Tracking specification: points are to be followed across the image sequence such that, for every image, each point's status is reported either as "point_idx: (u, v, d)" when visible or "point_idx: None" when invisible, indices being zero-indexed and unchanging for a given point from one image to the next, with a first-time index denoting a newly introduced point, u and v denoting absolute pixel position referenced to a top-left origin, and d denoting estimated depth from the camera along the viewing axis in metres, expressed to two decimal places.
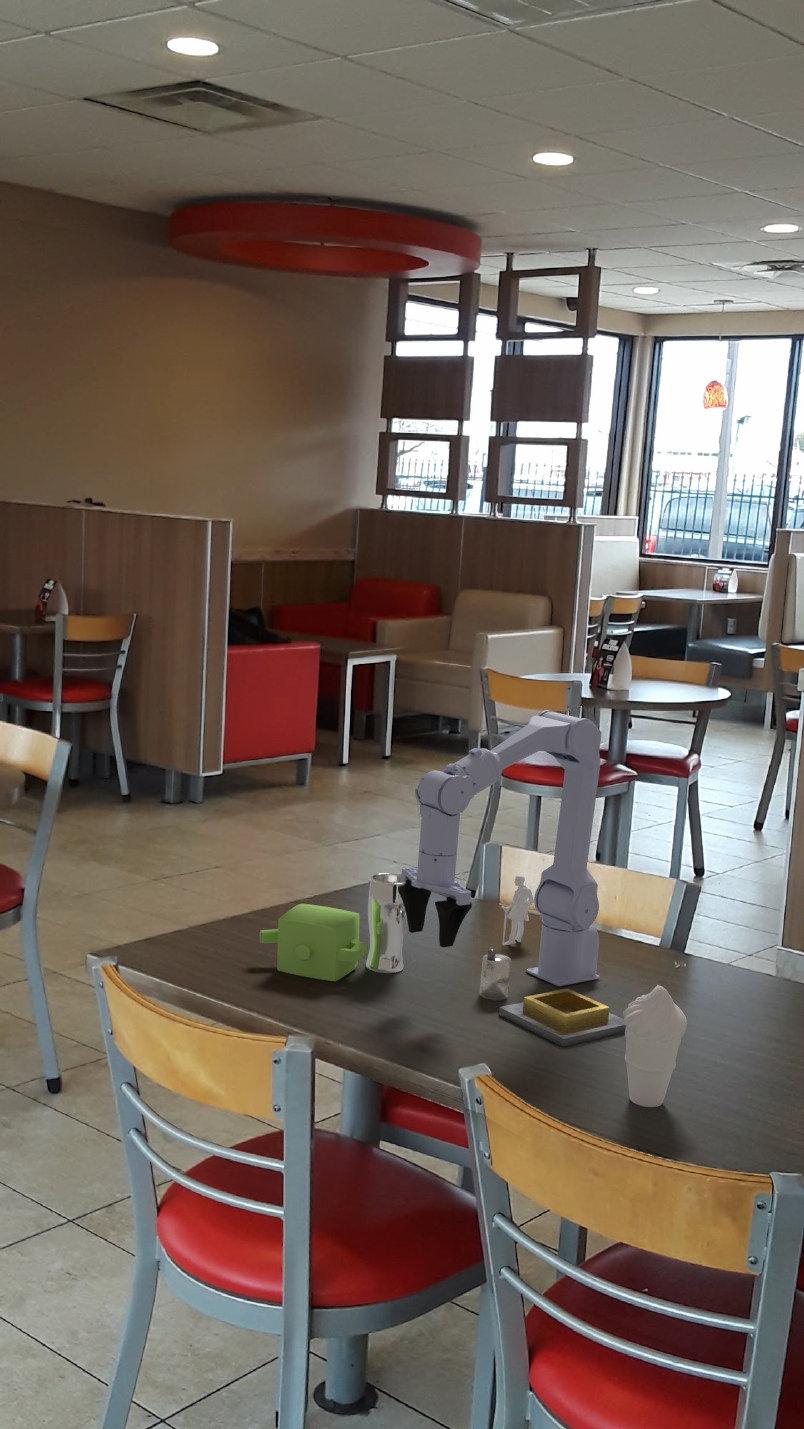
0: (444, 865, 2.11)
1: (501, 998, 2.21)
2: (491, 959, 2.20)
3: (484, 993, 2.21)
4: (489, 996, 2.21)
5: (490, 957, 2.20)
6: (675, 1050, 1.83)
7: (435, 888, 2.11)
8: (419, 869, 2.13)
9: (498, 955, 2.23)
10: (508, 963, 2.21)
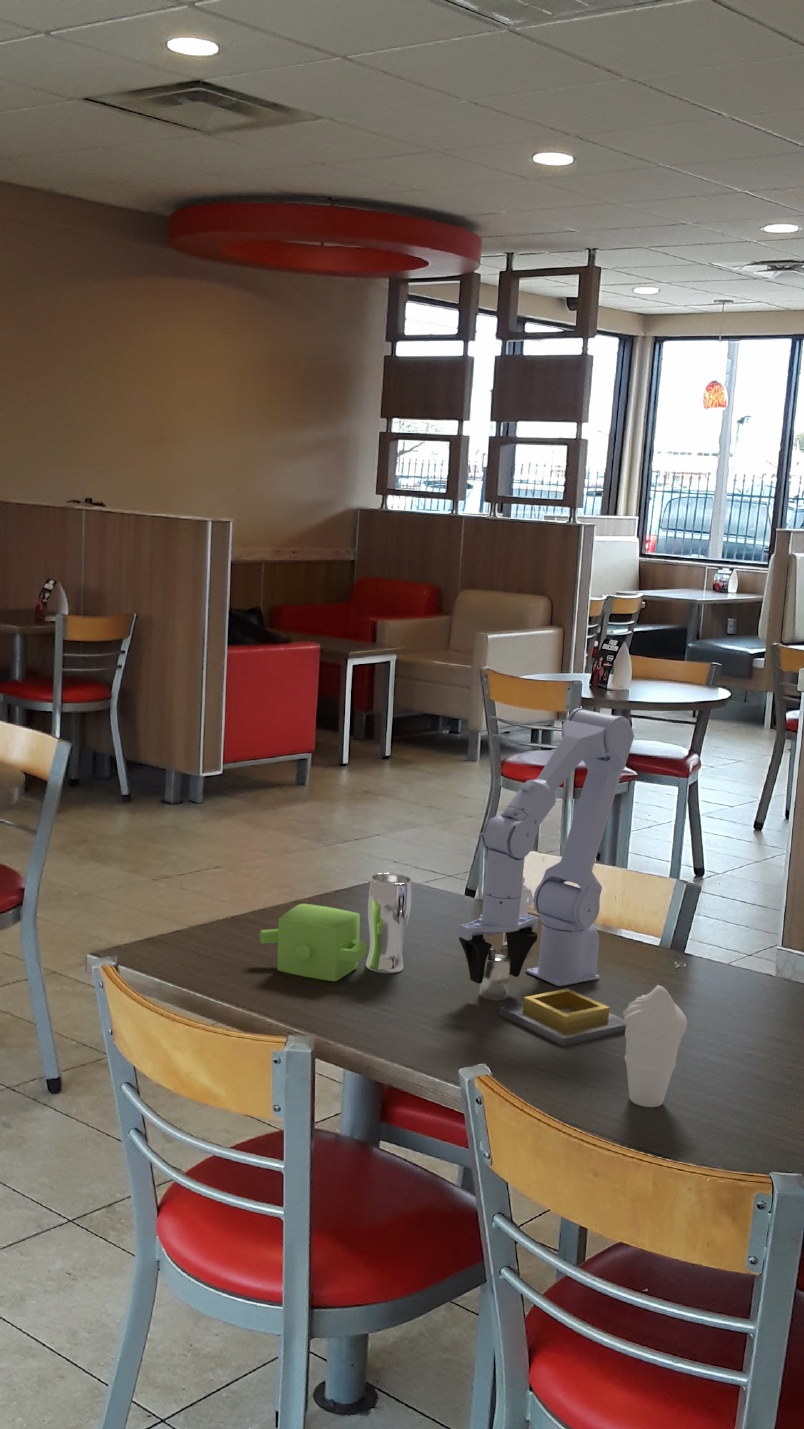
0: (485, 903, 2.19)
1: (501, 998, 2.21)
2: (491, 959, 2.20)
3: (484, 993, 2.21)
4: (489, 996, 2.21)
5: (490, 957, 2.20)
6: (675, 1050, 1.83)
7: None
8: None
9: (498, 955, 2.23)
10: (508, 963, 2.21)
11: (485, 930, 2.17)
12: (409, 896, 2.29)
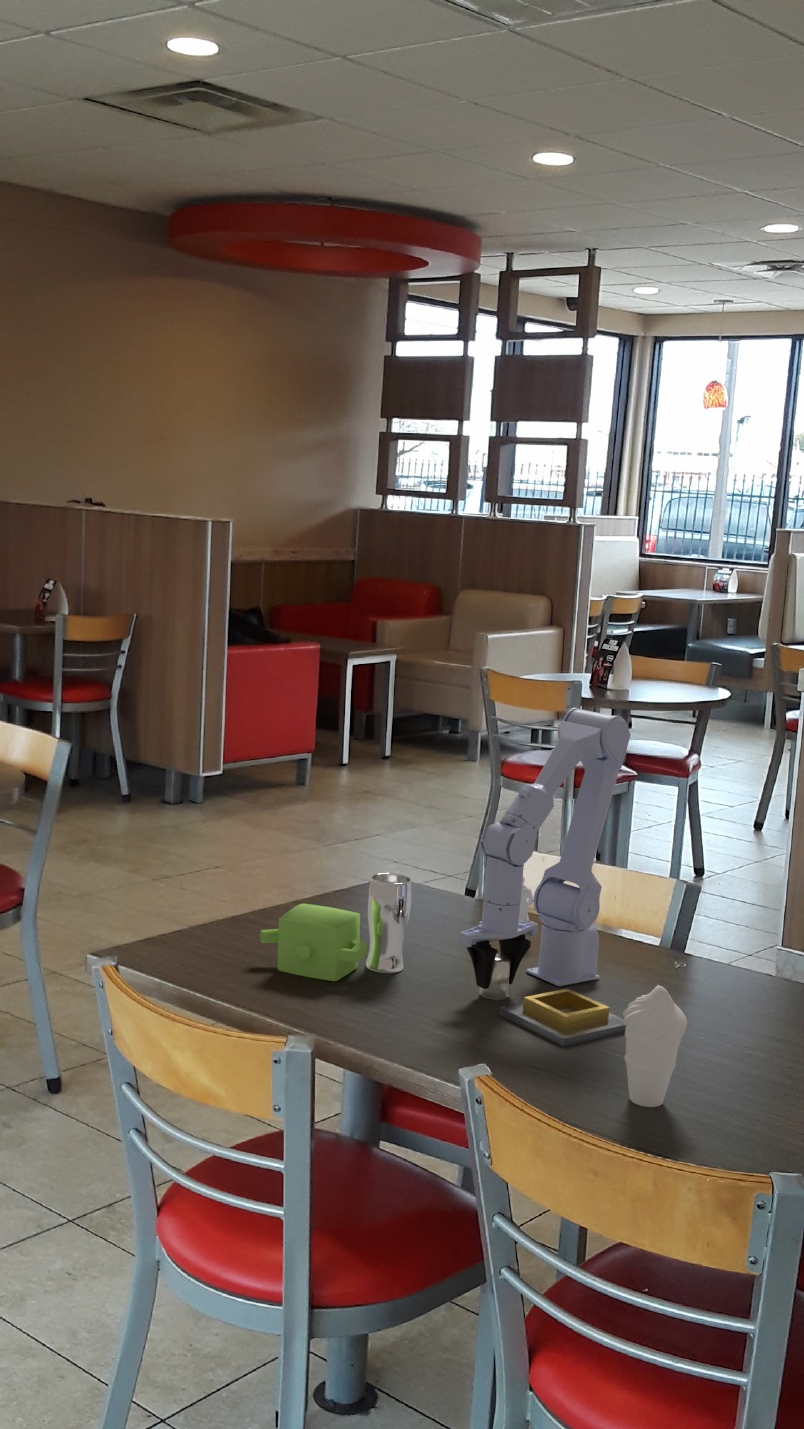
0: (484, 910, 2.20)
1: (501, 998, 2.21)
2: None
3: (484, 993, 2.21)
4: (489, 996, 2.21)
5: None
6: (675, 1050, 1.83)
7: None
8: None
9: (498, 954, 2.23)
10: (508, 963, 2.20)
11: (485, 937, 2.17)
12: (409, 896, 2.29)
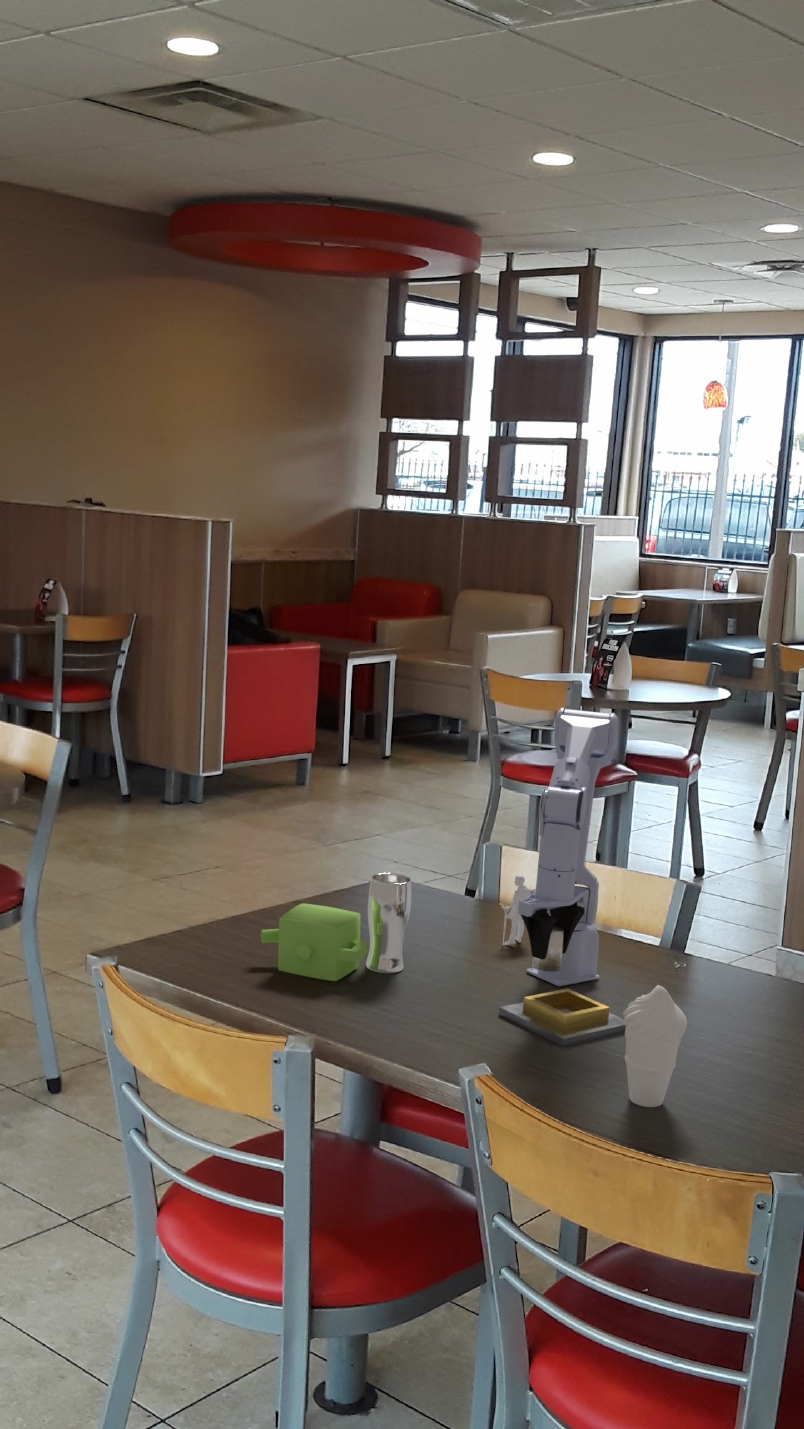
0: (540, 877, 2.11)
1: (557, 969, 2.13)
2: None
3: (539, 965, 2.13)
4: (545, 968, 2.12)
5: None
6: (675, 1050, 1.83)
7: None
8: None
9: None
10: (562, 932, 2.13)
11: (545, 905, 2.09)
12: (409, 896, 2.29)
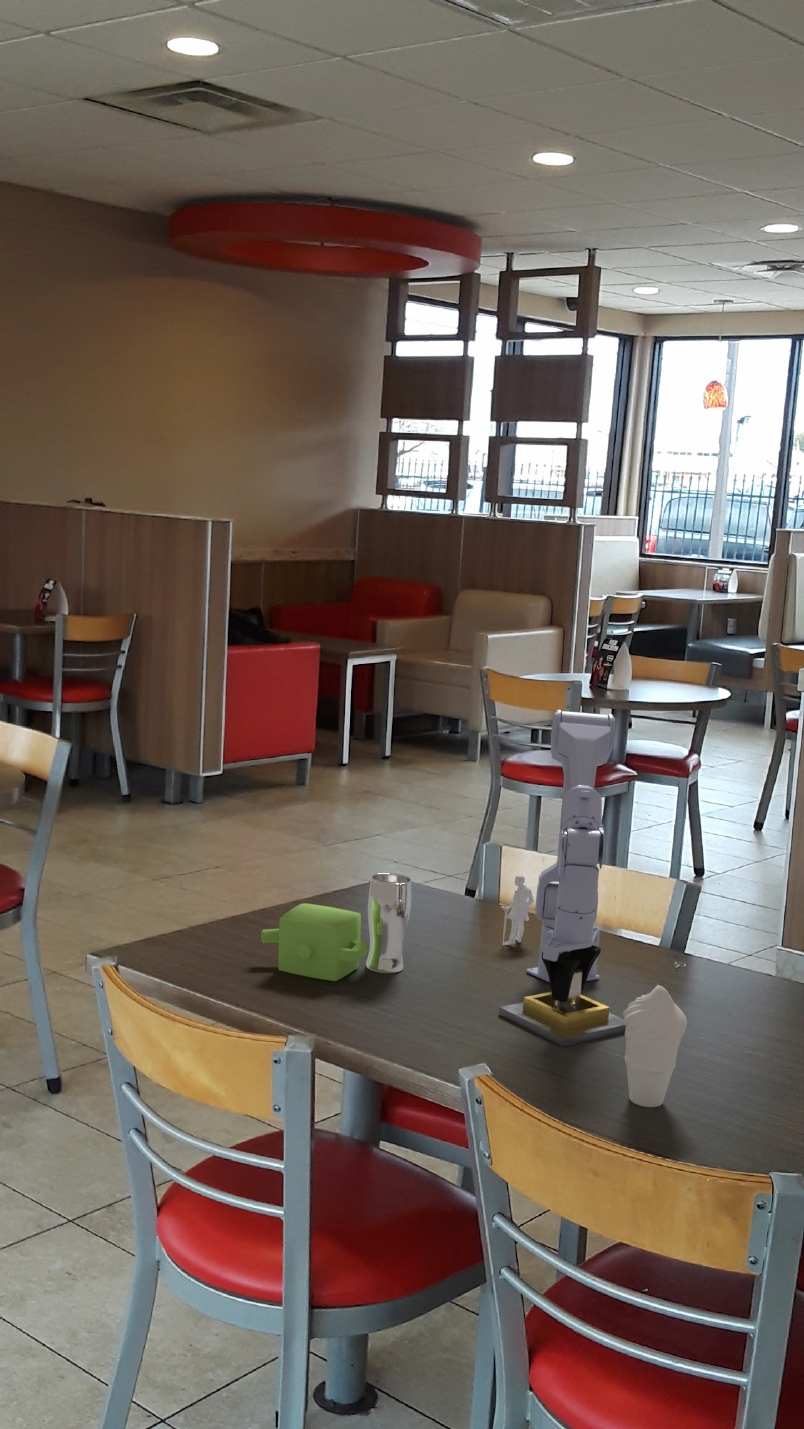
0: (561, 920, 2.09)
1: None
2: None
3: (559, 1008, 2.11)
4: (565, 1010, 2.10)
5: None
6: (675, 1050, 1.83)
7: (550, 939, 2.10)
8: None
9: None
10: (581, 973, 2.11)
11: (569, 948, 2.07)
12: (409, 896, 2.29)
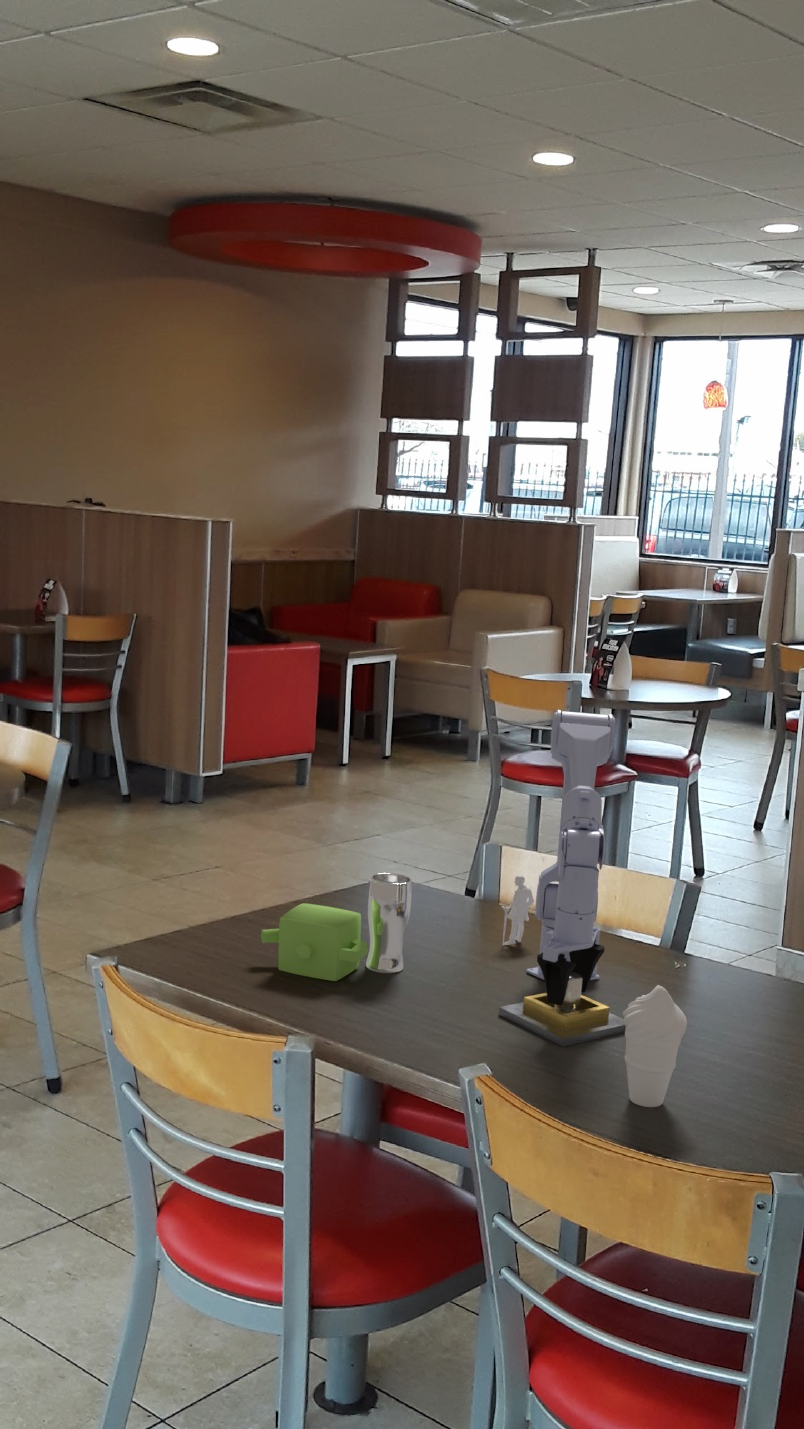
0: (561, 920, 2.09)
1: None
2: None
3: None
4: None
5: None
6: (675, 1050, 1.83)
7: None
8: None
9: None
10: None
11: (569, 949, 2.07)
12: (409, 896, 2.29)
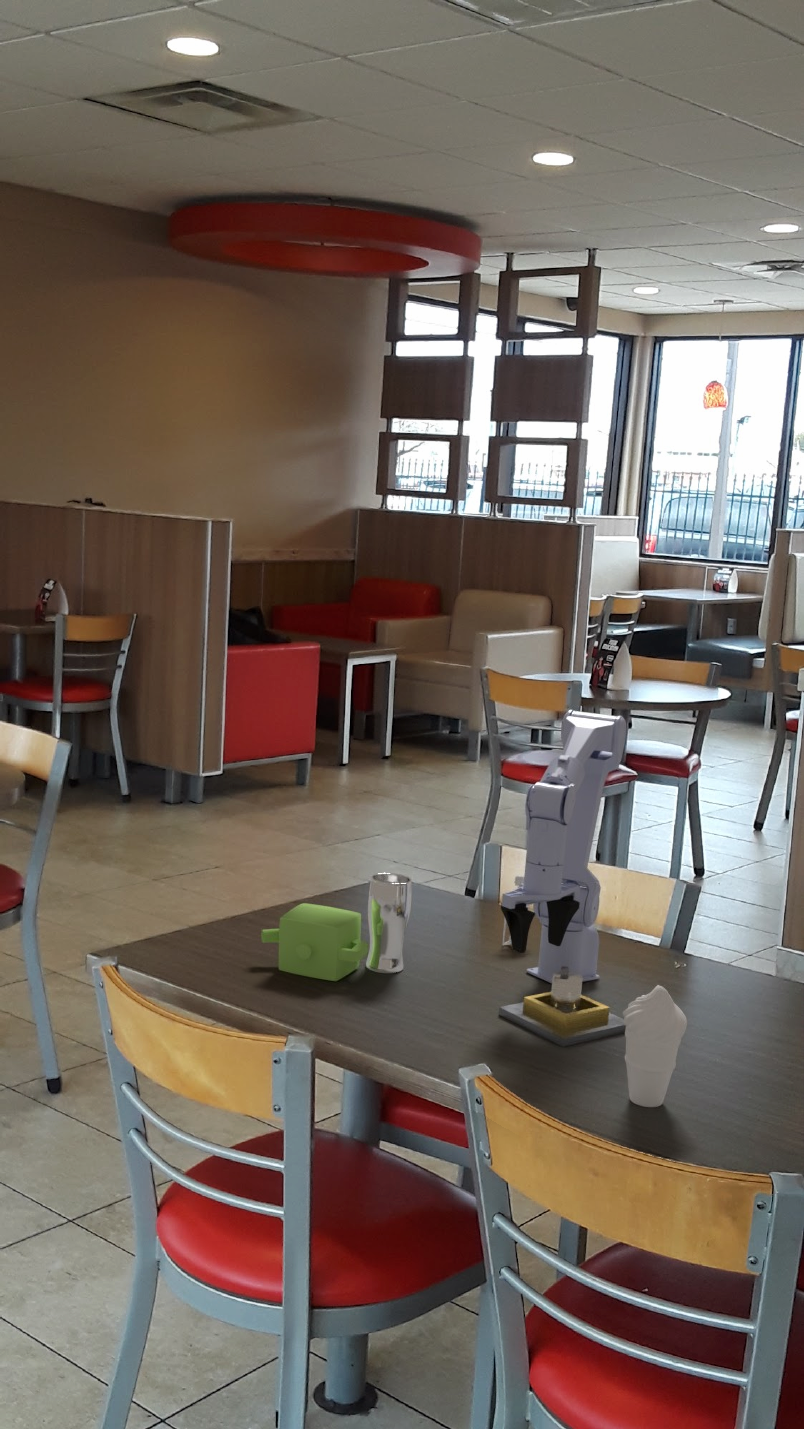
0: (527, 871, 2.14)
1: None
2: (566, 978, 2.10)
3: None
4: None
5: (565, 976, 2.10)
6: (675, 1050, 1.83)
7: None
8: None
9: None
10: None
11: (528, 898, 2.12)
12: (409, 896, 2.29)
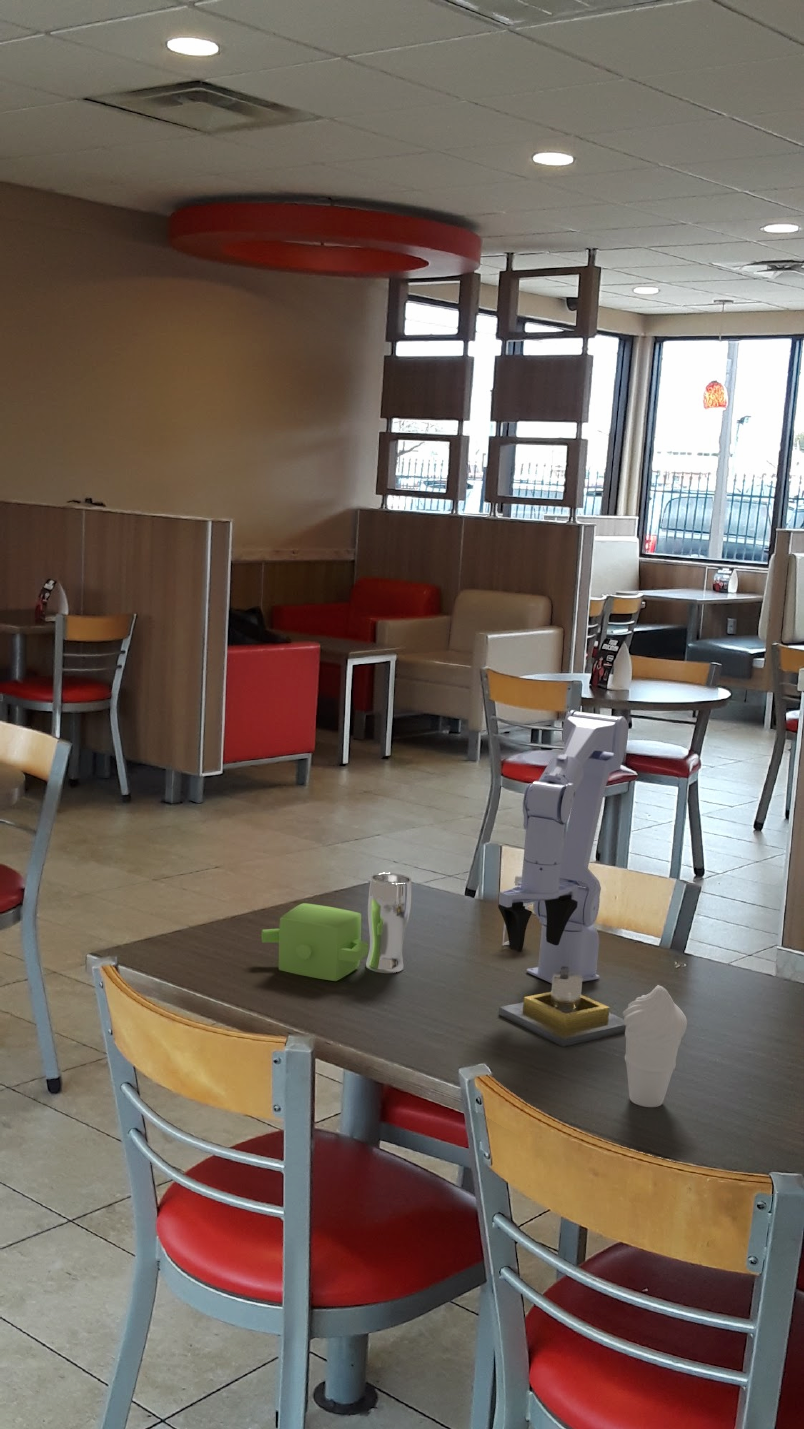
0: (524, 870, 2.15)
1: None
2: (566, 978, 2.10)
3: None
4: None
5: (565, 976, 2.10)
6: (675, 1050, 1.83)
7: None
8: None
9: None
10: None
11: (525, 897, 2.13)
12: (409, 896, 2.29)
